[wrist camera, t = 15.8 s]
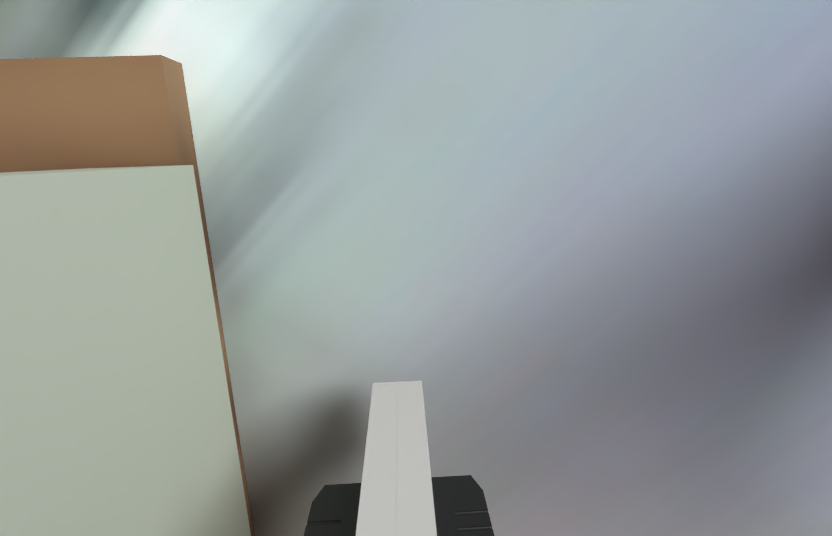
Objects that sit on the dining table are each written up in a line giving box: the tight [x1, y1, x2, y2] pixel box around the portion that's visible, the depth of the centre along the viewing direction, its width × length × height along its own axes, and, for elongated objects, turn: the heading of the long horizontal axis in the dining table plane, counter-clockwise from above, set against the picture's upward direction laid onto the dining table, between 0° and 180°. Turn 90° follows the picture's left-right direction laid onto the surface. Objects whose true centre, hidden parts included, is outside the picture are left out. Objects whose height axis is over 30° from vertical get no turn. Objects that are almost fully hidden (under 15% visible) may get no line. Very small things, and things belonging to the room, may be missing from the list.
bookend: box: [0, 165, 251, 536], centre depth 11 cm, size 16×3×9 cm, turn 2°
